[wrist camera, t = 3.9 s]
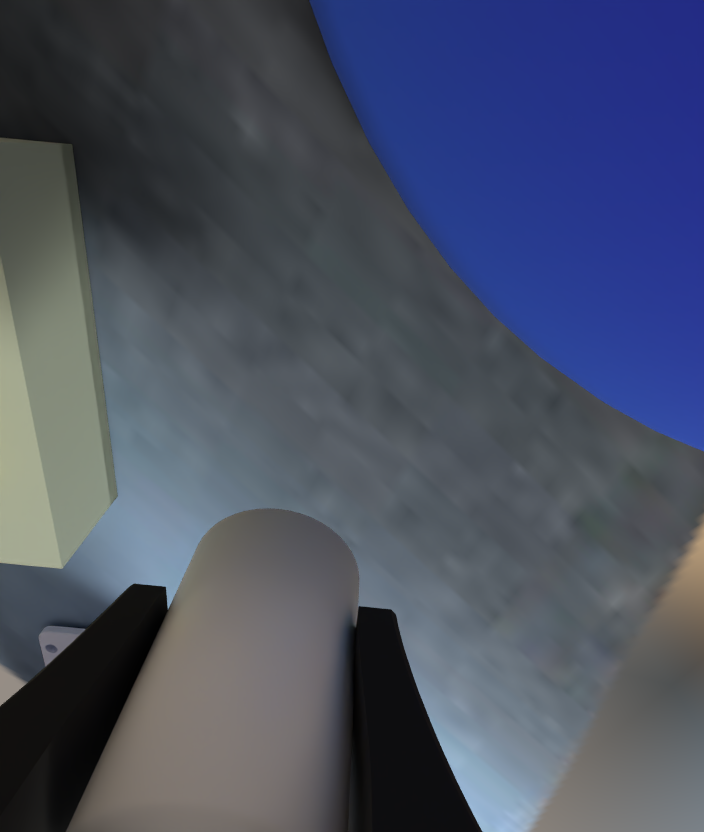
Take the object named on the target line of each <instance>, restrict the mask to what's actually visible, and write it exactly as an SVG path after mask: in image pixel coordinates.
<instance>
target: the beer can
mask: <svg viewBox="0 0 704 832" xmlns="http://www.w3.org/2000/svg"><path fill="white" fill-rule="evenodd" d="M309 1H310V4H311V7H312V9H313V12H314V15H315V18H316V20H317V23H318V26H319V29H320V31H321V34H322V37H323V40H324V42H325V45H326V48H327V51H328V53H329V56H330V59H331V62H332V64H333V66H334V68H335V71H336V73H337V75H338V77H339V79H340V81H341V83H342V86H343V88H344V90H345V92H346V94H347V96H348V98H349V101H350V103H351V105H352V107H353V109H354V111H355V113H356V116H357V118H358V120H359V122H360V124H361V126H362V129H363V131H364V133H365V135H366V137H367V139H368V141H369V143H370V145H371V147H372V148H373V150H374V152H375V154H376V155H377V157H378V159H379V160H380V162H381V164H382V165H383V167H384V169H385V171H386V172H387V174H388V176H389V177H390V179H391V181H392V183H393V184H394V186H395V188H396V189H397V191H398V193H399V195H400V196H401V198H402V200H403V201H404V203H405V205H406V207H407V208H408V210H409V211H410V213H411V214H412V215H413V217H414V218H415V219H416V221H417V222H418V224H419V225H420V226H421V228H422V229H423V230H424V232H425V233H426V235H427V236H428V237H429V239H430V240H431V241H432V243H433V244H434V246H435V247H436V248H437V250H438V251H439V252H440V254H441V255H442V257H443V258H444V259H445V261H446V262H447V263H448V265H449V266H450V268H451V269H452V270H453V271H454V272H455V273H456V274H457V275H458V276H459V278H460V279H461V280H462V281H463V282H464V283H465V284H466V285H467V286H468V287H469V289H470V290H471V291H472V292H473V293H474V294H475V295H476V296H477V297H478V299H479V300H480V301H481V302H482V303H483V304H484V305H485V306H486V307H487V309H488V310H489V311H490V312H491V313H492V314H493V315H494V316H495V317H496V318H497V319H498V320H499V321H500V322H502V323H503V324H504V325H505V326H506V327H507V328H508V329H509V330H510V331H512V332H513V333H514V334H515V335H516V336H517V337H518V338H519V339H521V340H522V341H523V342H524V343H525V344H526V345H527V346H528V347H530V348H531V349H532V350H533V351H534V352H535V353H536V354H537V355H539V356H540V357H541V358H542V359H544V360H545V361H546V362H548V363H549V364H551V365H552V366H553V367H555V368H556V369H558V370H559V371H560V372H562V373H563V374H565V375H566V376H567V377H569V378H570V379H572V380H573V381H575V382H576V383H577V384H579V385H580V386H582V387H583V388H584V389H586V390H587V391H589V392H590V393H591V394H593V395H594V396H596V397H597V398H598V399H600V400H601V401H603V402H604V403H606V404H608V405H610V406H611V407H613V408H615V409H617V410H619V411H620V412H622V413H624V414H626V415H628V416H629V417H631V418H633V419H635V420H637V421H638V422H640V423H642V424H644V425H646V426H647V427H649V428H651V429H653V430H655V431H657V432H659V433H661V434H664V435H666V436H668V437H671V438H673V439H676V440H678V441H680V442H683V443H685V444H687V445H690V446H692V447H695V448H697V449H699V450H702V451H704V0H309Z"/></svg>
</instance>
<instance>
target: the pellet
mask: <svg viewBox="0 0 704 832" xmlns="http://www.w3.org/2000/svg"><path fill="white" fill-rule="evenodd" d="M358 597H359V571H358V566H357V563H356V560H355V558H354V556H353V554H352V552H351V550H350V549H349V547H348V546H347V544H346V543H345V542H344V541H343V540H342V539H341V537H340V536H339V535H337V534H336V533H335V532H334V531H333V530H332V529H330V528H329V527H327V526H326V525H324V524H323V523H321V522H319V521H317V520H315V519H313V518H311V517H308V516H306V515H303V514H300V513H296V512H293V511H288V510H282V509H254V510H248V511H244V512H240V513H237V514H234V515H232V516H229V517H227V518H225V519H223V520H222V521H220V522H218V523H217V524H216V525H214V526H213V527H212V528H211V529H210V530H209V531H208V532H207V533H206V534H205V535H204V536H203V538H202V539H201V541H200V543H199V544H198V546H197V549H196V551H195V553H194V555H193V557H192V559H191V562H190V564H189V566H188V568H187V570H186V572H185V575H184V577H183V579H182V581H181V583H180V585H179V588H178V590H177V592H176V594H175V596H174V598H173V601H172V603H171V605H170V607H169V609H168V611H167V614H166V616H165V618H164V620H163V622H162V624H161V627H160V629H159V631H158V633H157V635H156V637H155V640H154V642H153V644H152V646H151V648H150V650H149V653H148V655H147V657H146V659H145V661H144V663H143V666H142V668H141V670H140V672H139V674H138V676H137V679H136V681H135V683H134V685H133V687H132V689H131V692H130V694H129V696H128V698H127V700H126V702H125V705H124V707H123V709H122V711H121V713H120V715H119V718H118V720H117V722H116V724H115V726H114V728H113V731H112V733H111V735H110V737H109V739H108V741H107V744H106V746H105V748H104V750H103V752H102V754H101V757H100V759H99V761H98V763H97V765H96V767H95V770H94V772H93V774H92V776H91V778H90V780H89V783H88V785H87V787H86V789H85V791H84V793H83V796H82V798H81V800H80V802H79V804H78V806H77V809H76V811H75V813H74V815H73V817H72V819H71V822H70V824H69V826H68V828H67V830H66V832H348V819H349V797H350V774H351V752H352V730H353V707H354V658H355V636H356V624H357V616H358Z"/></svg>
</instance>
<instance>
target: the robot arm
mask: <svg viewBox="0 0 704 832" xmlns="http://www.w3.org/2000/svg"><path fill="white" fill-rule="evenodd" d="M167 611H168V608H167V595H166V587H162V586H152V585H142V584H133V585H131V586H130V587H129V588H127V589H126V590H125V591H124V592H123V593H122V594H121V595H120V596H119V597H118V598H117V599H116V600H115V601H114V602H113V603H112V604H111V605H110V606H109V607H108V608H107V609H106V610H105V611H104V612H103V613H102V614H101V615H100V616H99V617H98V618H97V619H96V620H95V621H94V622H93V623H92V624H91V625H90V626H89V627H88V628H86V629H82V628H71V627H61V626H47V627H45V628H44V629H43V630H42V632H41V633H40V634H39V642H40V646H41V650H42V655H43V659H44V663H45V668H43V669H42V670H41V671H40V672H39V673H38V674H37V675H36V676H35V677H34V678H32V679H31V680H30V681H29V682H28V683H27V684H26V685H25V686H23V687H22V688H21V689H20V690H19V691H18V692H17V693H15V694H14V695H13V696H12V697H11V698H9V699H8V700H7V701H6V702H5V703H4V704H2V705H1V706H0V832H66V830H67V828H68V826H69V824H70V822H71V819H72V817H73V815H74V813H75V811H76V809H77V806H78V804H79V802H80V800H81V798H82V796H83V793H84V791H85V789H86V787H87V785H88V783H89V780H90V778H91V776H92V774H93V772H94V770H95V767H96V765H97V763H98V761H99V759H100V757H101V754H102V752H103V750H104V748H105V746H106V744H107V741H108V739H109V737H110V735H111V733H112V731H113V728H114V726H115V724H116V722H117V720H118V718H119V715H120V713H121V711H122V709H123V707H124V705H125V702H126V700H127V698H128V696H129V694H130V692H131V689H132V687H133V685H134V683H135V681H136V679H137V676H138V674H139V672H140V670H141V668H142V666H143V663H144V661H145V659H146V657H147V655H148V653H149V650H150V648H151V646H152V644H153V642H154V640H155V637H156V635H157V633H158V631H159V629H160V627H161V624H162V622H163V620H164V618H165V616H166V614H167ZM348 832H482V830H481V828H480V827H479V825H478V823H477V821H476V819H475V817H474V815H473V813H472V811H471V809H470V807H469V805H468V803H467V801H466V799H465V797H464V795H463V793H462V791H461V789H460V787H459V785H458V783H457V781H456V779H455V776H454V774H453V772H452V770H451V768H450V765H449V763H448V761H447V759H446V757H445V755H444V752H443V750H442V748H441V746H440V743H439V741H438V739H437V736H436V734H435V732H434V729H433V727H432V724H431V722H430V719H429V717H428V714H427V712H426V709H425V707H424V704H423V701H422V699H421V696H420V694H419V691H418V688H417V686H416V683H415V680H414V677H413V674H412V671H411V668H410V665H409V662H408V659H407V656H406V653H405V650H404V646H403V643H402V639H401V635H400V631H399V627H398V623H397V617H396V614H395V613H394V612H393V611H392V610H390V609H380V608H370V607H361V606H359V608H358V616H357V624H356V636H355V658H354V707H353V730H352V752H351V774H350V797H349V819H348Z"/></svg>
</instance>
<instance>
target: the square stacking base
mask: <svg viewBox="0 0 704 832" xmlns="http://www.w3.org/2000/svg"><path fill="white" fill-rule="evenodd" d="M117 496H118V495H117V488H116V480H115V472H114V464H113V457H112V449H111V441H110V433H109V426H108V418H107V410H106V402H105V395H104V387H103V379H102V371H101V364H100V356H99V348H98V340H97V333H96V325H95V317H94V309H93V302H92V294H91V286H90V278H89V271H88V263H87V255H86V247H85V240H84V232H83V224H82V216H81V209H80V201H79V193H78V185H77V178H76V170H75V162H74V154H73V147H72V144H64V143H54V142H43V141H32V140H21V139H11V138H0V563H8V564H18V565H28V566H39V567H49V568H60V569H63V567H64V566H65V565H66V563H67V562H68V561H69V559H70V558H71V557H72V555H73V554H74V553H75V551H76V550H77V549H78V547H79V546H80V545H81V544H82V542H83V541H84V540H85V538H86V537H87V536H88V534H89V533H90V532H91V530H92V529H93V528H94V526H95V525H96V524H97V523H98V521H99V520H100V519H101V517H102V516H103V515H104V513H105V512H106V511H107V509H108V508H109V507H110V505H111V504H112V503H113V501H114V500H115V499H116V498H117Z"/></svg>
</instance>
